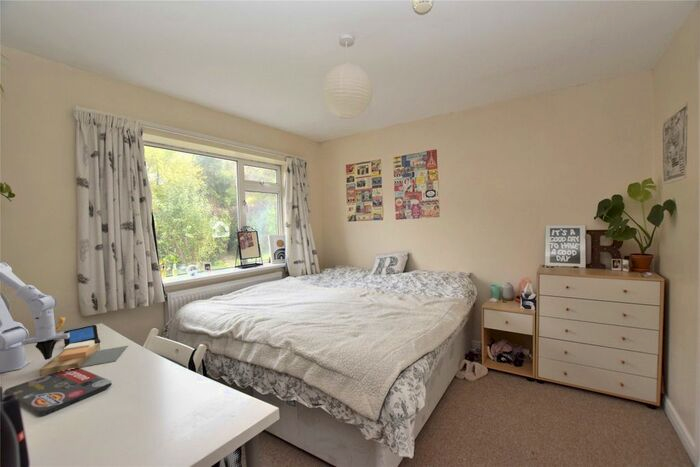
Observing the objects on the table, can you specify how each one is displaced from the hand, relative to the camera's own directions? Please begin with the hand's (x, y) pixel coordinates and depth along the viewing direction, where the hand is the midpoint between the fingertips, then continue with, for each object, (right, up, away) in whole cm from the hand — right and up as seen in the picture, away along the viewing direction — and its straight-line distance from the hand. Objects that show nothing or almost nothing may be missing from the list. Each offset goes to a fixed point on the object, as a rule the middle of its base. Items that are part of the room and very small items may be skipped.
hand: (48, 358), depth 126 cm
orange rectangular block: (+8, 0, +3) cm, 9 cm away
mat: (+18, -2, +8) cm, 19 cm away
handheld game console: (-6, -3, +23) cm, 24 cm away
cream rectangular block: (+3, 0, +11) cm, 11 cm away
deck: (+6, -3, +5) cm, 8 cm away
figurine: (-23, -3, +30) cm, 38 cm away
